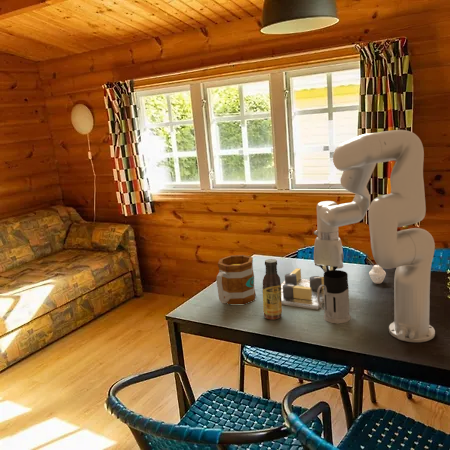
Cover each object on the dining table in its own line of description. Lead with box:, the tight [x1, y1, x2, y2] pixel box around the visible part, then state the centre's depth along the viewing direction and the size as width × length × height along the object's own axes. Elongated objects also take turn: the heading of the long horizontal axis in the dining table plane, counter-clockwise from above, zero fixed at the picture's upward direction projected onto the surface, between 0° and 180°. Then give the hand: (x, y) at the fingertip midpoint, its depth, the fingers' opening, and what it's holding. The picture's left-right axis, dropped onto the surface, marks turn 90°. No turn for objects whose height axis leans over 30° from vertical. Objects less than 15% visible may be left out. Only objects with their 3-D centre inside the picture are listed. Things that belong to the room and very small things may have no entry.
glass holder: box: [317, 269, 352, 324], centre depth 145 cm, size 9×14×15 cm, turn 133°
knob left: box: [284, 267, 302, 286], centre depth 176 cm, size 10×4×4 cm, turn 149°
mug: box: [216, 254, 256, 305], centre depth 167 cm, size 20×14×15 cm
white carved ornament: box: [368, 264, 387, 284], centre depth 173 cm, size 6×6×7 cm
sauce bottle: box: [262, 258, 283, 321], centre depth 150 cm, size 6×6×20 cm
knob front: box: [283, 284, 312, 300], centre depth 162 cm, size 10×4×4 cm, turn 59°
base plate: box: [281, 278, 324, 311], centre depth 169 cm, size 22×20×4 cm
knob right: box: [309, 275, 324, 291], centre depth 168 cm, size 10×4×4 cm, turn 88°
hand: (329, 281), depth 171 cm, fingers closed
